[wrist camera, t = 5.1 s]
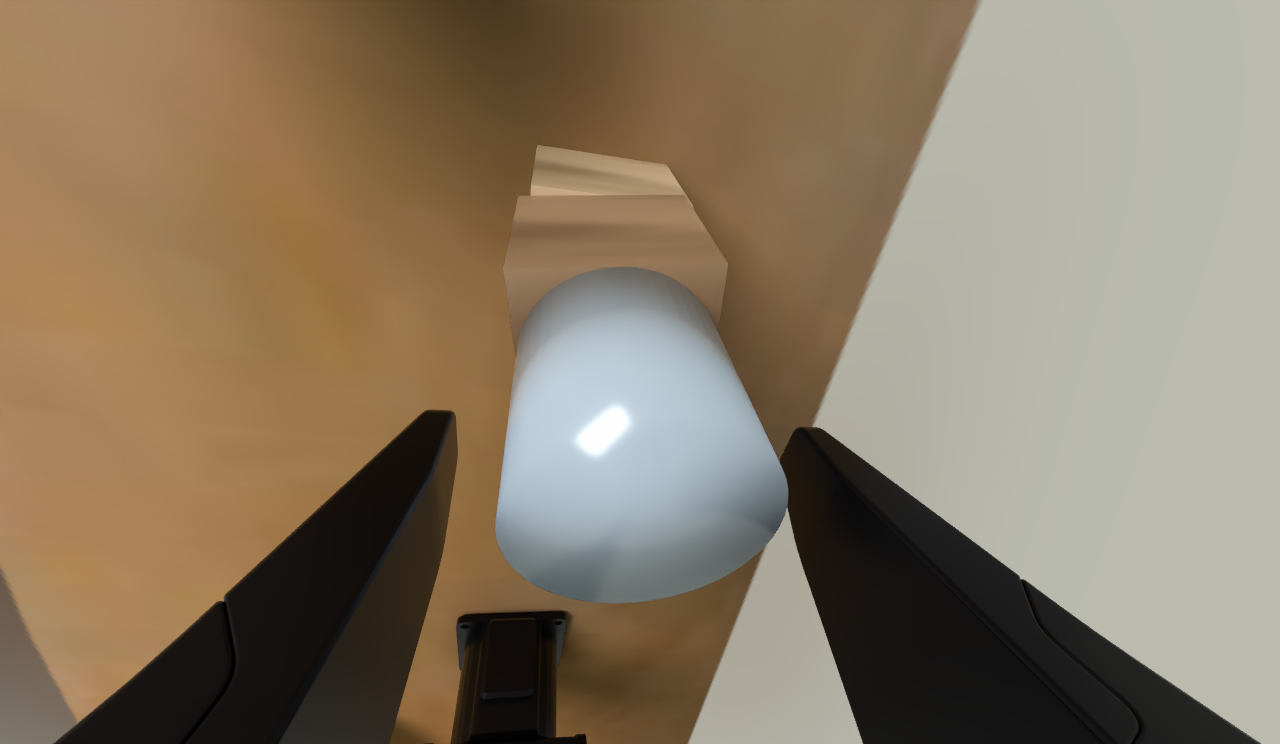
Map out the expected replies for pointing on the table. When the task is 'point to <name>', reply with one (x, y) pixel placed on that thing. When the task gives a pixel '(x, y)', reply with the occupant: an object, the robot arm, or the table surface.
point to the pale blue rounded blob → (631, 445)
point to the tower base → (598, 175)
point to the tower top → (608, 246)
